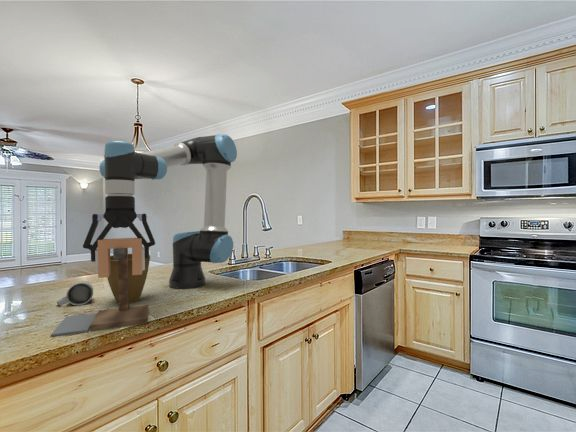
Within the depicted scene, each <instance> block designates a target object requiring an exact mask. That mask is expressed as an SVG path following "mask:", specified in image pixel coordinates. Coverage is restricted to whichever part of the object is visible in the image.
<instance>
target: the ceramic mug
mask: <svg viewBox="0 0 576 432" xmlns="http://www.w3.org/2000/svg"><path fill="white" fill-rule="evenodd" d="M93 296H94V287H93V284H91V283H90V282H89V281H86V280H79V281H76V282H74V283H73V284H72V285H71V286H70V287H69V288H68V290H67V291H66V295H65V296H64V297H61V298H60V299H59V300H56V304H57V306H59V307H60V306H62V305H63V306H64V305H65V304H67V303H69V304H71V305H72V306H83V305H86V304H88V303H89V301H91V300H92V298H93Z"/></svg>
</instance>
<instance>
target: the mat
mask: <svg viewBox="0 0 576 432" xmlns="http://www.w3.org/2000/svg"><path fill="white" fill-rule="evenodd" d="M97 313H98V312H95V313H85V314H77V315H76V314H75V315H69V316H68V315H67V316H65V317H64V318H63V320H62V321H61V322H60V323H59V325H57V326H56V328H55V329H54V330H53V331H52V332H51V333H50V337H51V338H52V337H53V338H54V337H60V336H61V337H62V336H68V335H76V334H82V333H83V334H84V333H88V332H89V331H90V325H91V323H92V321H93V319H94V318H95V316H96V314H97Z"/></svg>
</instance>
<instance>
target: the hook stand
mask: <svg viewBox="0 0 576 432" xmlns="http://www.w3.org/2000/svg"><path fill="white" fill-rule="evenodd" d="M128 250H129V248H114V249H113V251H112V253H113V255H112V256H113V259H118V268H119V303H118V307H117V308H109V309H106V308H105V309H99V310H98V311H97V312H96V313H97V314H96V316H95V318H94V319H93V321H92V323H91V325H90V329H89V331H90V332H93V331H95V332H96V331H102V330H110V329H115V328H116V329H117V328H125V327H131V326H138V325H146V324H147V325H148V322H149V321H148V319H149V304H145V305H135V306H129V303H128V254H129V251H128Z"/></svg>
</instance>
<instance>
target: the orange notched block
mask: <svg viewBox="0 0 576 432" xmlns="http://www.w3.org/2000/svg"><path fill="white" fill-rule="evenodd" d="M142 247H143V244H142V238H140V239H138V238H137V237H121V238H104V239H103V240H98V247H97V250H98V274H97V277H98V279H100V278H102V279H103V278H107V277H109V276H110V256H111V249H114V248H128V249H129V248H130V249H131V254H132V275H142Z"/></svg>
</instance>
